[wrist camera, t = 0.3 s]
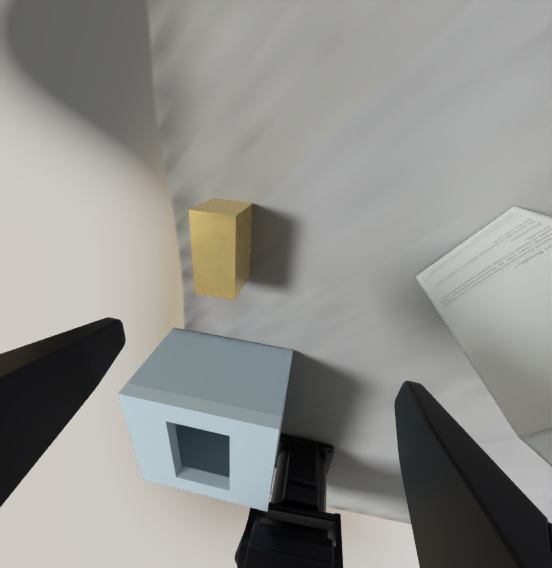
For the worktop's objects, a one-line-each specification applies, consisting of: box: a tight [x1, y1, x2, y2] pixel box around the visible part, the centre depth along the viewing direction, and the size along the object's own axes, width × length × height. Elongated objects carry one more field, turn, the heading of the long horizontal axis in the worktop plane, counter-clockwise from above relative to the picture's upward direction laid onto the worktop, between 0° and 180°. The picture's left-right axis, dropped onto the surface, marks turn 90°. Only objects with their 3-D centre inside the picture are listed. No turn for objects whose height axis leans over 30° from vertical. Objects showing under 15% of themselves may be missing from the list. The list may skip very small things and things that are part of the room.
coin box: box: [118, 328, 293, 512], centre depth 25 cm, size 12×12×8 cm
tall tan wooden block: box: [189, 198, 252, 300], centre depth 19 cm, size 3×6×4 cm, turn 175°
